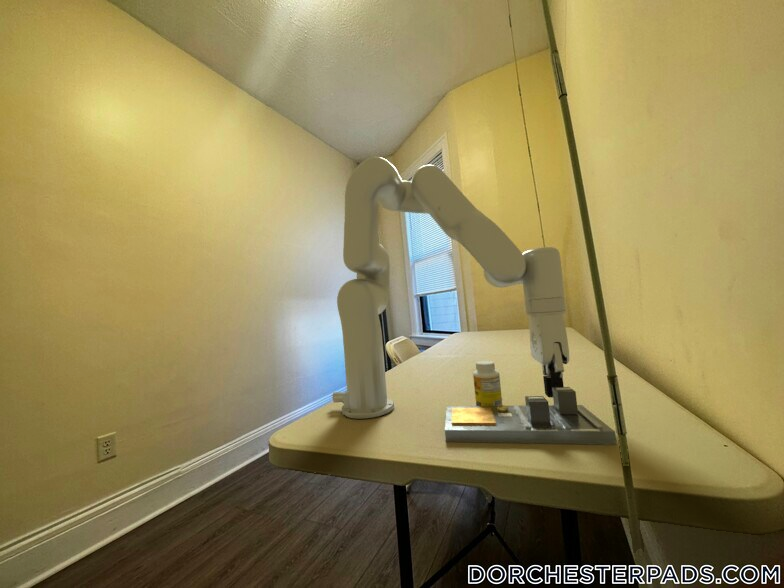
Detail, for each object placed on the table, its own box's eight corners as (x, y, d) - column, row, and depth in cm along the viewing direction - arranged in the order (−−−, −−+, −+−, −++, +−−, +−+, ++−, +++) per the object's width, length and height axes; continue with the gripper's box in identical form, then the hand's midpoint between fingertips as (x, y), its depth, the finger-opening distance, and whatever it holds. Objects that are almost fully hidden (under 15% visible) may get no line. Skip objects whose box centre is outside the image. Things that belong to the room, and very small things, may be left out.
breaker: (559, 414, 53) (557, 390, 53) (554, 408, 56) (551, 386, 56) (578, 414, 52) (575, 390, 52) (571, 408, 55) (569, 385, 55)
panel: (445, 441, 50) (442, 405, 50) (447, 415, 62) (445, 386, 62) (616, 444, 45) (611, 403, 45) (582, 415, 56) (579, 383, 57)
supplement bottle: (477, 404, 67) (472, 360, 68) (502, 405, 65) (498, 359, 66) (475, 413, 62) (471, 365, 63) (503, 414, 60) (498, 364, 61)
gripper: (518, 308, 69) (526, 386, 68) (535, 309, 54) (546, 409, 53) (552, 305, 67) (561, 385, 66) (580, 306, 52) (592, 408, 51)
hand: (554, 396), depth 59 cm, fingers closed
